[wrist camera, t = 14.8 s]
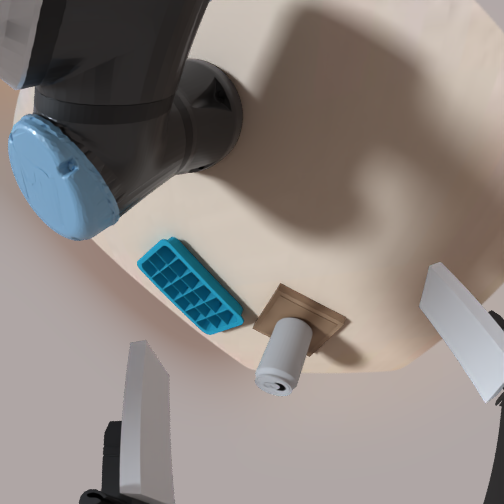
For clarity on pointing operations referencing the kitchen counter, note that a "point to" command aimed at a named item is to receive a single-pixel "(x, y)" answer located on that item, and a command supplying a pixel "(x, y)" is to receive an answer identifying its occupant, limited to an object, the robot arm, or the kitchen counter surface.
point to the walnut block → (299, 316)
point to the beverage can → (284, 357)
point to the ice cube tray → (190, 287)
